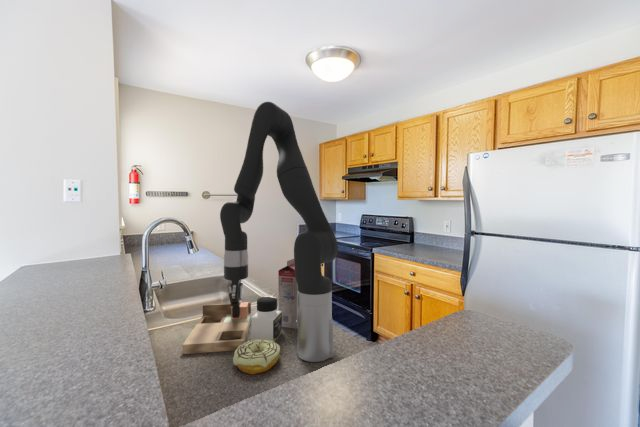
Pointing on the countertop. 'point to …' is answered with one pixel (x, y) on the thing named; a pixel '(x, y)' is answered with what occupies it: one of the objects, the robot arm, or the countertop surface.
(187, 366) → the countertop surface
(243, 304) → the block
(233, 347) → the board
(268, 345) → the decorated donut
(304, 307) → the robot arm
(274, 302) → the medicine bottle
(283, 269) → the juice carton
